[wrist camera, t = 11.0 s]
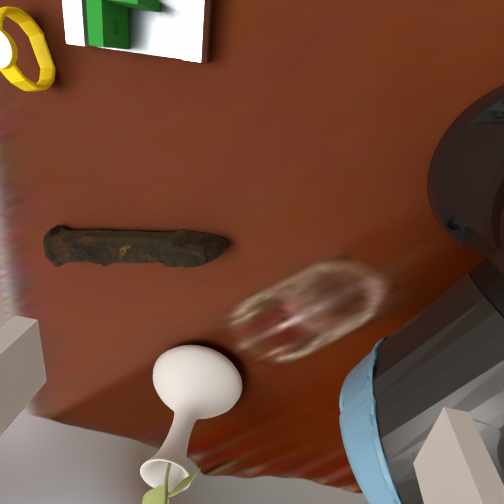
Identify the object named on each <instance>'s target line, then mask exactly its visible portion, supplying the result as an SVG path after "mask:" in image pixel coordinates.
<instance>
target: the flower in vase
mask: <svg viewBox="0 0 504 504" xmlns="http://www.w3.org/2000/svg"><path fill="white" fill-rule="evenodd" d="M153 383H154V387H155V389H156V391H157V393H158V395H159V396H160V398H161V399H162V400H163V402H164V403H165V404H166V405H167V406H168V407H169V408H171V409H172V410H173V411H174V414H175V415H174V420H173V423H172V426H171V429H170V431H169V434H168V436H167V438H166V440H165V442H164V444H163V445H162V447H161V448H160V450H159V451H158V452H157V454H156V455H155V456H154V457H152V458H151V459H149V460H148V461H146V462H145V463H144V464H143V465H142V466H141V469H140V474H141V476H142V478H143V480H144V481H145V482H146V483H148V484H149V485H150V486H152V487H153V488H154V489H151V490H149V491H148V492H147V493H145V495H144V497H143V502H142V504H169V497H172V496H174V495H176V494H177V493H179V492H180V491H184V490H186V489H187V488H188V487H189V486H190V484H191V482H192V480H193V479H194V478H195V476H196V474H198V472H199V471H200V468H201V467H200V468H199V470H198V472H197V473H195V474H192V475H190V474H189V472H188V469H187V463H186V456H187V447H188V442H189V438H190V434H191V431H192V428H193V425H194V423H195V421H196V420H197V419H205V418H211V417H215V416H218V415H220V414H223V413H225V412H227V411H228V410H230V409H231V408H232V407H233V406H234V405H235V403H236V402H237V401H238V399H239V398H240V395H241V392H242V380H241V376H240V374H239V372H238V371H237V369H236V367H235V366H234V365H233V363H232V362H231V361H230V360H229V359H228V358H227V357H225V356H224V355H223V354H221V353H219V352H218V351H216V350H213V349H211V348H208V347H204V346H199V345H183V346H179V347H176V348H173V349H170V350H168V351H166V352H165V353H163V354H162V355H161V356H160V357H159V358H158V359H157V361H156V363H155V365H154V369H153ZM168 492H171V493H170V494H169V495H168Z"/></svg>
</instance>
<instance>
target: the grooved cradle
mask: <svg viewBox="0 0 504 504" xmlns="http://www.w3.org/2000/svg"><path fill="white" fill-rule="evenodd" d="M158 1H160V12H153V11H146V10H139V9H133V8H128V30H129V50H127V49H117V48H107V47H100V48H107V49H114V50H121V51H128V52H135V53H142V54H149V55H156V56H163V57H170V58H178V59H182V60H188V61H195V62H204V63H209V54H210V38H211V22H212V6H213V0H158ZM62 2H63V13H64V24H65V34H66V43H67V44H74V45H81V46H90V47H99V46H93V45H89V39H88V22H87V6H86V0H62Z"/></svg>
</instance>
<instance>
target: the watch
mask: <svg viewBox="0 0 504 504" xmlns="http://www.w3.org/2000/svg"><path fill="white" fill-rule="evenodd" d="M6 16H8V17H9V18H11V19H12V20H13V21H15V22H16V23H18V24H19V25H20V27H21V28H22V29H23V30H24V32H25V33H26V34H27V35H28V36H29V39H30V42H31V44H32V47H33V50H34V52H35V55H36V58H37V61H38V63H39V66H40V69H41V70H40V78H39V81H38V82H37V83H36V84H35V83H34V82H32V81H31V80H29V79H28V78H27V77H25V76H24V75H23V74H22V72H21V71H20V70H19V68H18V67H17V66H16V61H17V58H18V51H17V47H16V44H15V42H14V40H13V39H12V37H11V36H10V35H9V34H8V33H7V32H5V31H4V30H3V20H4V18H5V17H6ZM44 35H45V34H44V33H43V31H42V30H41V29H40V27H39V26H38V25H37V23H36V22H35V21H34V19H33V18H32V17H31V16H29V15H28V14H26V13H25V12H24V11H22V10H21V9H20V8H17V7H2V8H0V71H1V72H2V73H3V74H4V76H5V77H6V78H7V79H8V80H9V81H10V82H11V83H12V84H14V85H15V86H17V87H18V88H20V89H22V90H24V91H39V90H45V89H48V88H49V87H50V86H51V85H52V84H53V82H54V80H55V71H56V68H55V65H54V62H53V60H52V57H51V54H50V51H49V48H48V45H47V42H46V40H45V37H44Z"/></svg>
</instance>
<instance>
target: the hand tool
mask: <svg viewBox="0 0 504 504" xmlns="http://www.w3.org/2000/svg"><path fill="white" fill-rule="evenodd" d="M43 245H44V250H45V256H46V258H47V259H48V260H49V261H50V262H51V263H52V264H53V265H54V266H56V267H58V266H61V265H63V264H65V263H68V262H92V263H95V264H101V265H102V266H106V265H109V264H111V263H117V262H118V263H122V262H124V263H154V262H156V263H163V265H164V266H165V267H180V266H183V267H185V268H186V267H190V266H191V267H196V266H200V265H204V264H205V263H208V262H211V261H213V260H214V259H215V258H217V257H218V256H219V255H221V254H222V253H223V252H224V251H225V250H226V249H227V248H228V246H229V241H228V240H227V239H225V238H222V237H219V236H215V235H211V234H206V233H202V232H193V231H188V230H177V231H175V232H170V233H169V232H141V231H110V230H76V231H74V230H66V228H65V227H63V226H61V225H56V227H53V228H52V229H50V230H49V231H47V233H46V234H45V236H44V239H43Z"/></svg>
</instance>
